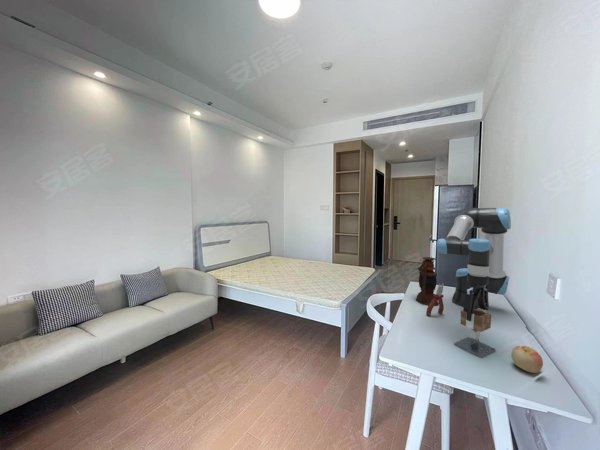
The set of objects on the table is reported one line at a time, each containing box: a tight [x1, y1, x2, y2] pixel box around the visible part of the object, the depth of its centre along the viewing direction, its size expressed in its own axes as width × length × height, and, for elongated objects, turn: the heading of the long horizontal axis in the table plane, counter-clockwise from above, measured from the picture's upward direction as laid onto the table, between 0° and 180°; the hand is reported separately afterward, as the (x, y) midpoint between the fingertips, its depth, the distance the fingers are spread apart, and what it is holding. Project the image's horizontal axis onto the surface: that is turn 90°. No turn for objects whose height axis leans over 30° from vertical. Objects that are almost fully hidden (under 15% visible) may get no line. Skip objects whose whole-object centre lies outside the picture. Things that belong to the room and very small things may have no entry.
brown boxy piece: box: [460, 308, 492, 333], centre depth 106 cm, size 8×8×6 cm
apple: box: [510, 345, 544, 374], centre depth 92 cm, size 9×9×8 cm
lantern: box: [415, 256, 439, 307], centre depth 158 cm, size 17×14×30 cm
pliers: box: [426, 282, 445, 317], centre depth 138 cm, size 11×20×3 cm
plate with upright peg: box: [453, 328, 496, 359], centre depth 106 cm, size 11×11×10 cm
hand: (475, 325), depth 106 cm, fingers closed on brown boxy piece, 8 cm apart
